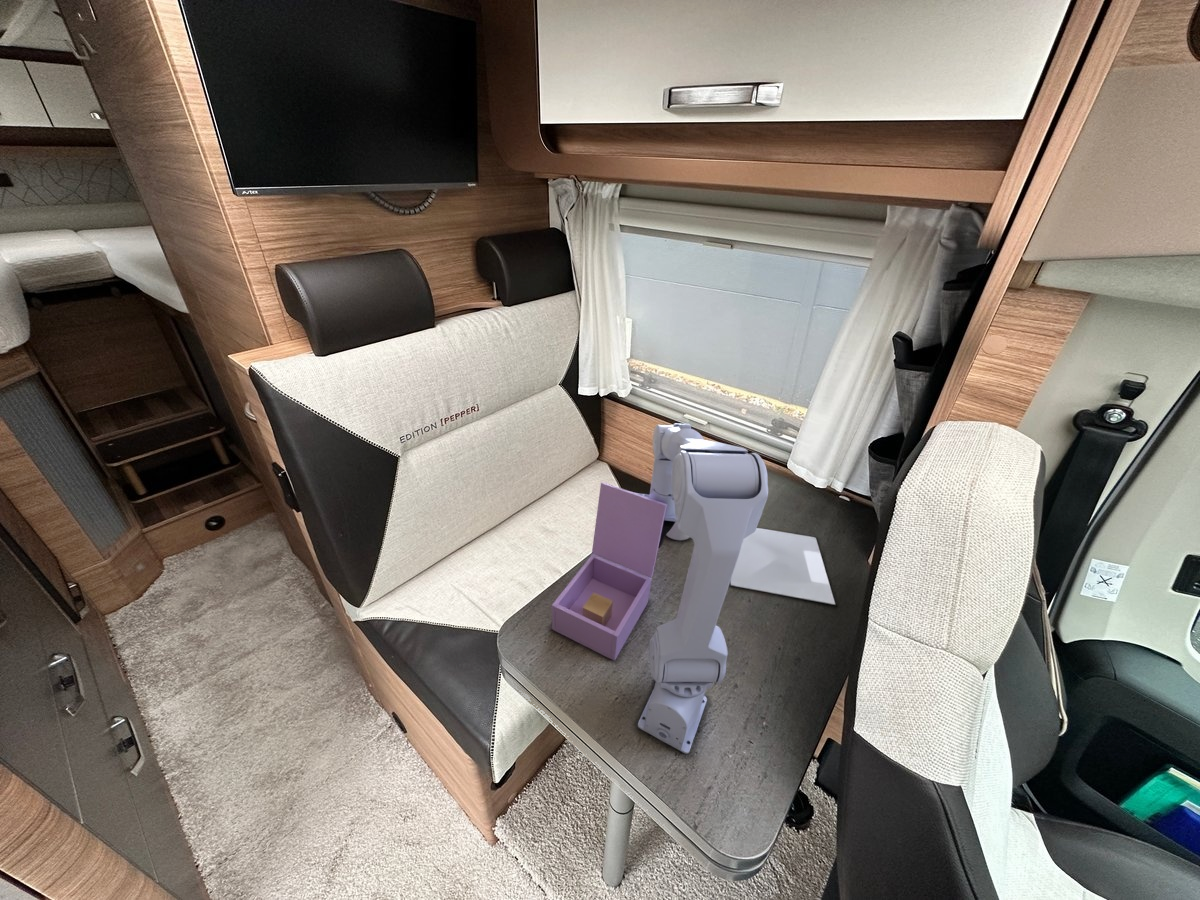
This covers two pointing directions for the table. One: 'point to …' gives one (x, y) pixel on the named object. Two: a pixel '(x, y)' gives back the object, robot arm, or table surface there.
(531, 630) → the table surface
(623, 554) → the purple box lid
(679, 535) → the candle
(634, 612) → the open box
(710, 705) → the table surface
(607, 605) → the block
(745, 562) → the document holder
